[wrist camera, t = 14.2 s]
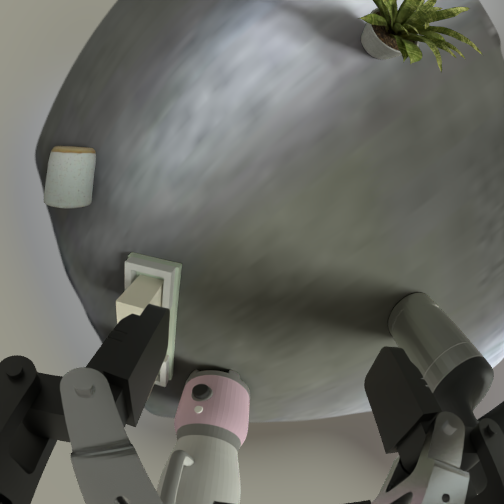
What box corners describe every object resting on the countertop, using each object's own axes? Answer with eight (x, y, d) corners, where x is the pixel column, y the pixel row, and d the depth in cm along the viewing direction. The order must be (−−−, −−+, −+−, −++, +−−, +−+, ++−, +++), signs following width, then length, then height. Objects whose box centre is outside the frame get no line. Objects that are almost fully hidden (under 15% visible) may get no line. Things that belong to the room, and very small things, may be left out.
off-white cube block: (135, 273, 38) (110, 299, 31) (170, 281, 38) (151, 310, 31) (135, 304, 40) (113, 333, 33) (168, 313, 40) (151, 345, 33)
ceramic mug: (107, 147, 34) (75, 148, 26) (101, 202, 36) (70, 213, 29) (57, 144, 34) (24, 146, 26) (53, 193, 36) (21, 202, 29)
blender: (255, 406, 49) (248, 556, 19) (197, 408, 50) (166, 546, 20) (239, 348, 44) (215, 543, 14) (171, 352, 45) (107, 519, 15)
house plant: (430, 102, 29) (506, 89, 14) (344, 94, 30) (399, 58, 15) (412, 20, 25) (469, -20, 9) (327, 7, 26) (359, -58, 10)
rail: (182, 263, 39) (160, 295, 30) (173, 374, 47) (159, 412, 38) (132, 252, 39) (100, 278, 30) (133, 363, 47) (115, 397, 38)
